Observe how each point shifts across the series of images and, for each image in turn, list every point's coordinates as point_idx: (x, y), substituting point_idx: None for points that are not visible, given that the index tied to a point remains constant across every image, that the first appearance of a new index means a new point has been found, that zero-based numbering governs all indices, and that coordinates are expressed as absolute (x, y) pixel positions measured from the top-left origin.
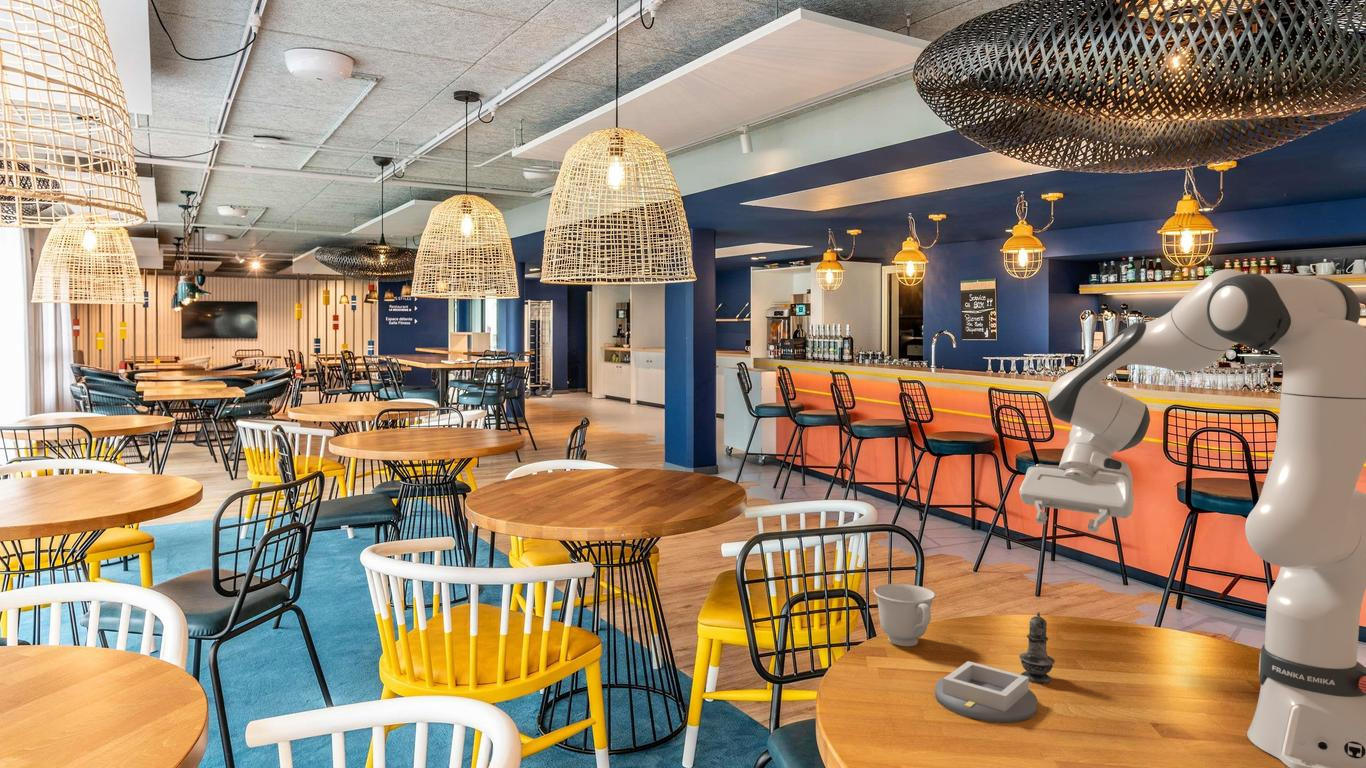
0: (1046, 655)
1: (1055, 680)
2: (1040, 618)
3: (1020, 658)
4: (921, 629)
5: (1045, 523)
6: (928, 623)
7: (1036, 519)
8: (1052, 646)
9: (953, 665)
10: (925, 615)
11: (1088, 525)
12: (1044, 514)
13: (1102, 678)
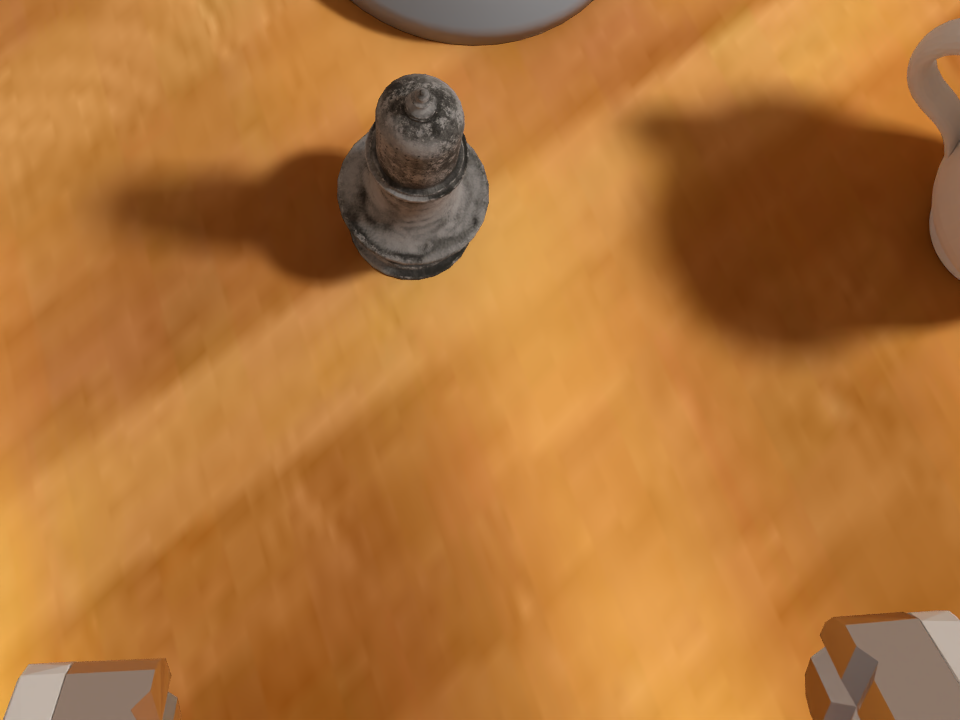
0: (369, 178)
1: (342, 249)
2: (405, 96)
3: (469, 145)
4: (943, 172)
5: (811, 715)
6: (907, 74)
7: (928, 612)
8: (501, 666)
9: (708, 123)
10: (936, 27)
11: (147, 670)
12: (886, 688)
13: (194, 412)
